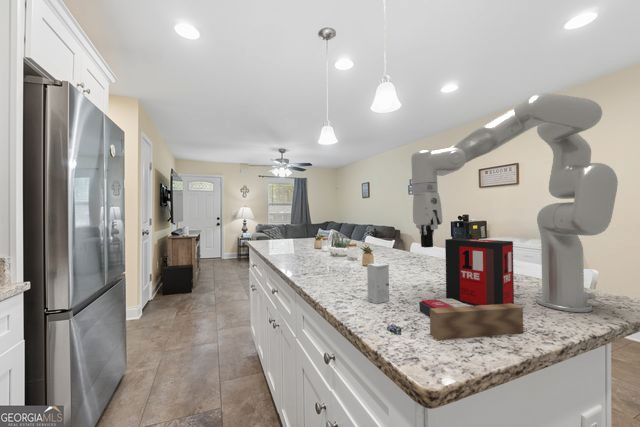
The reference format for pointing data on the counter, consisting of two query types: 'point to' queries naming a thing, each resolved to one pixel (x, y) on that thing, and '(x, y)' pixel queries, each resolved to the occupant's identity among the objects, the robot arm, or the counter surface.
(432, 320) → the walnut board
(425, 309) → the calculator
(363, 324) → the counter surface
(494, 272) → the cleaning product box
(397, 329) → the blueberries
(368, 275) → the skincare box
